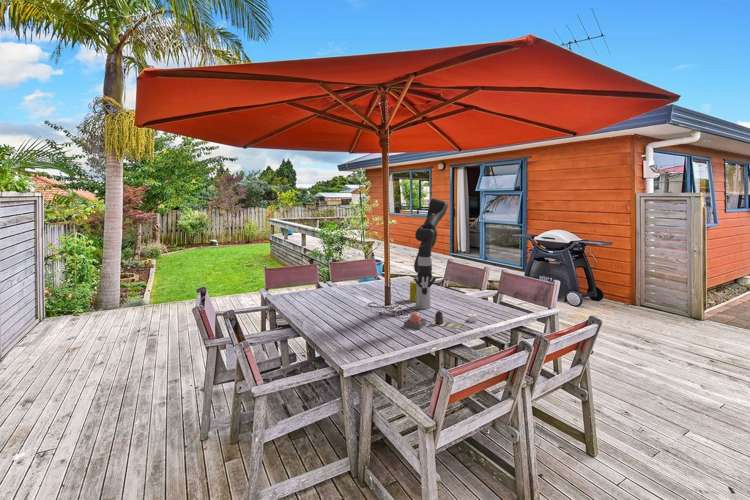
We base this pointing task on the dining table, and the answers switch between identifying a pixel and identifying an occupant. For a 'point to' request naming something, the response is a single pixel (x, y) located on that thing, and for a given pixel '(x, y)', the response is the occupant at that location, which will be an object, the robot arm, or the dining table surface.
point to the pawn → (438, 318)
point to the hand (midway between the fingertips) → (424, 294)
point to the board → (448, 325)
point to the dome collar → (415, 324)
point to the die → (472, 318)
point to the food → (413, 290)
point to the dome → (415, 318)
